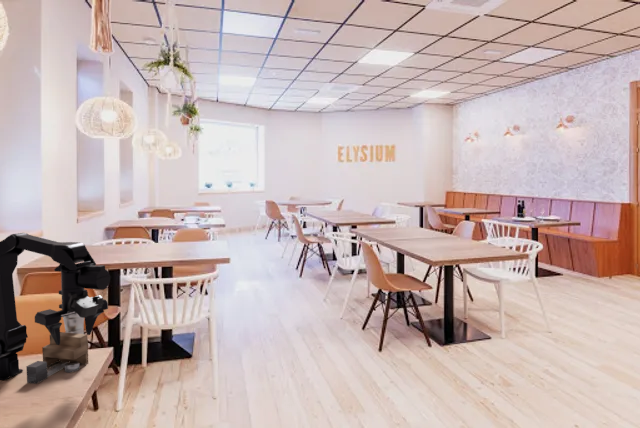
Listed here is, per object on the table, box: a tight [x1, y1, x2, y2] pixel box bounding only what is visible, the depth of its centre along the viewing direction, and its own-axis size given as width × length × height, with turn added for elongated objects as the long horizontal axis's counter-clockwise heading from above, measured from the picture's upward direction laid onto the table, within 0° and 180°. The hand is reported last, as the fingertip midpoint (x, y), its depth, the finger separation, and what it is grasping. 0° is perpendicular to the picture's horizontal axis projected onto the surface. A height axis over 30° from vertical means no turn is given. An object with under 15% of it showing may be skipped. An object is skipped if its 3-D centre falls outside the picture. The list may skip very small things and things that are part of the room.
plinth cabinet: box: [41, 331, 89, 368], centre depth 139 cm, size 12×6×10 cm, turn 78°
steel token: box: [64, 361, 80, 374], centre depth 136 cm, size 4×4×2 cm
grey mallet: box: [25, 360, 68, 385], centre depth 133 cm, size 3×12×5 cm, turn 168°
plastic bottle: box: [62, 313, 85, 334], centre depth 146 cm, size 6×7×20 cm
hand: (73, 339), depth 126 cm, fingers open, 9 cm apart
